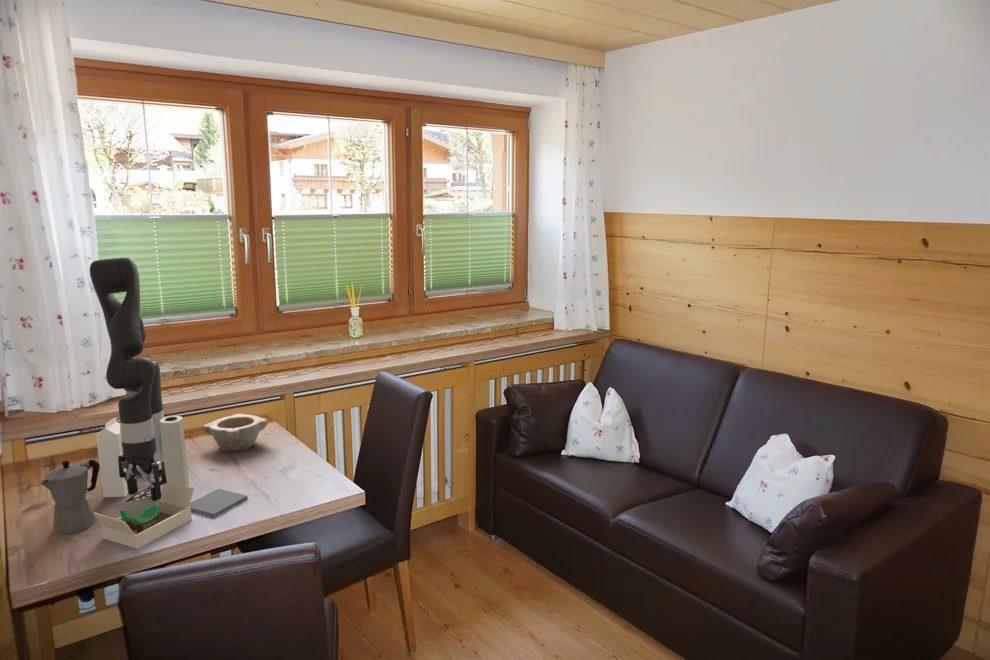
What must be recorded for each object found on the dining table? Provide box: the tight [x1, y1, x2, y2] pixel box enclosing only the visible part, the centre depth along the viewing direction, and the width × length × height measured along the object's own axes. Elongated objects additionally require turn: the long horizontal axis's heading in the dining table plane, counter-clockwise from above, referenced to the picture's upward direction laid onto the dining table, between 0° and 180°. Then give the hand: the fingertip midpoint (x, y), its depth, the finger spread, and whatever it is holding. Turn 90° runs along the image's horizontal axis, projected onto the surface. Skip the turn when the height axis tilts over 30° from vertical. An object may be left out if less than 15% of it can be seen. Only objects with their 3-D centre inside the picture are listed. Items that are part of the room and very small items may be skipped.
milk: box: [95, 417, 129, 498], centre depth 190 cm, size 6×6×22 cm
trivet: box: [189, 488, 249, 518], centre depth 186 cm, size 11×12×1 cm
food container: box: [117, 485, 162, 534], centre depth 171 cm, size 12×6×10 cm, turn 168°
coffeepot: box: [40, 459, 100, 535], centre depth 173 cm, size 15×9×18 cm, turn 159°
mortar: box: [202, 413, 269, 453], centre depth 226 cm, size 17×17×9 cm
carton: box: [93, 481, 195, 550], centre depth 171 cm, size 12×20×8 cm, turn 156°
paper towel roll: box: [160, 415, 190, 487], centre depth 193 cm, size 7×6×21 cm
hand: (144, 496), depth 170 cm, fingers open, 8 cm apart
